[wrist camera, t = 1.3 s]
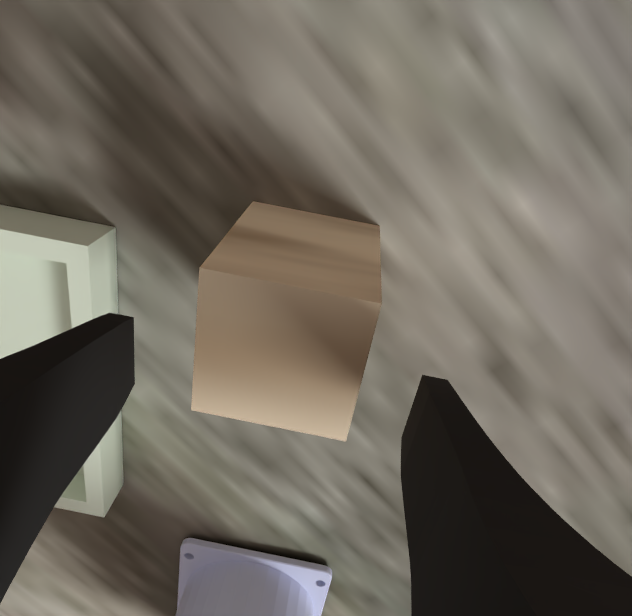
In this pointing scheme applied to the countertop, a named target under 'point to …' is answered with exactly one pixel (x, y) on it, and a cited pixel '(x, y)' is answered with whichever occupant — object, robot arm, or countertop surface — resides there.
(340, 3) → the countertop surface
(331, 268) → the maple block
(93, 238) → the tray
